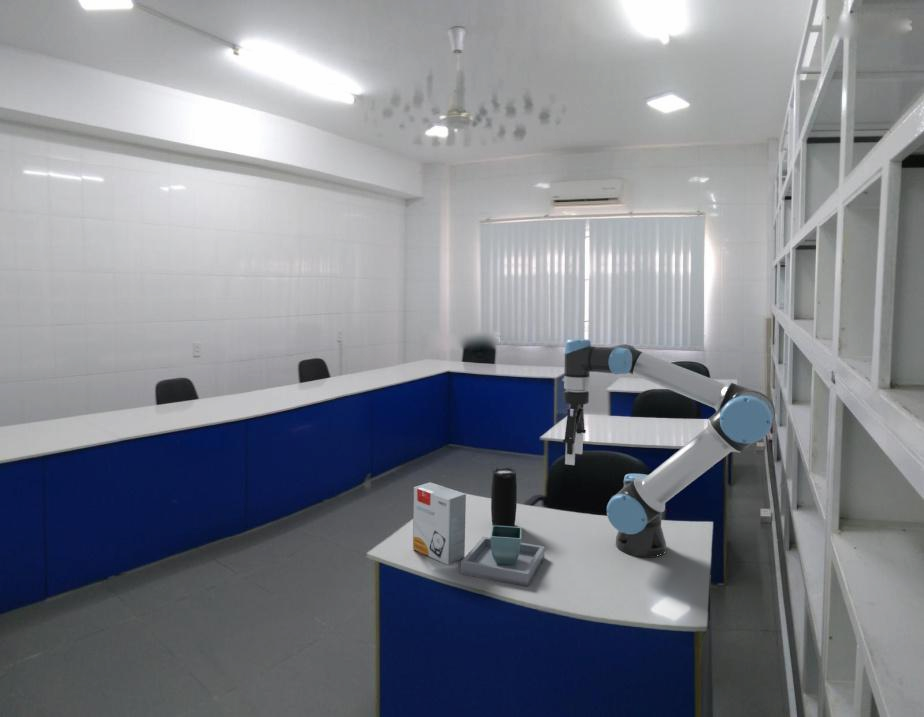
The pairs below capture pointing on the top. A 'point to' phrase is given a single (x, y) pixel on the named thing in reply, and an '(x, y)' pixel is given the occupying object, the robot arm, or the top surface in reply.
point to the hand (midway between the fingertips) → (574, 458)
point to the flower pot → (505, 544)
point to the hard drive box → (439, 522)
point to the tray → (486, 567)
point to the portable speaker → (503, 497)
